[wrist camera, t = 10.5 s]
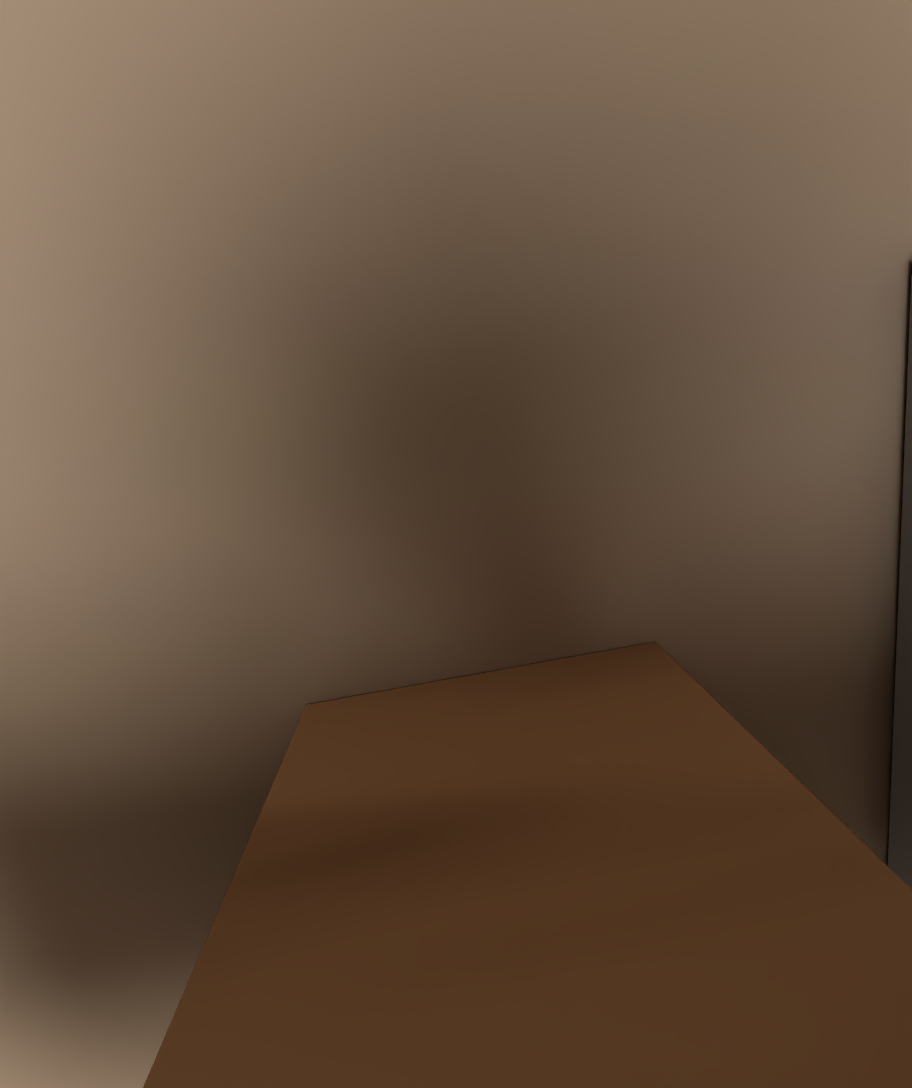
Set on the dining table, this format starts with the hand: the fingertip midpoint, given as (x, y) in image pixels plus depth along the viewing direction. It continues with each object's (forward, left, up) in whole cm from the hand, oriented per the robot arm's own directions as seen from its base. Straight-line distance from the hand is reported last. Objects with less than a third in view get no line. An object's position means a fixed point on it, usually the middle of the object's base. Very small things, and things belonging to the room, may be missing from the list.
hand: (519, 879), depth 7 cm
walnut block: (0, 0, -1) cm, 1 cm away
